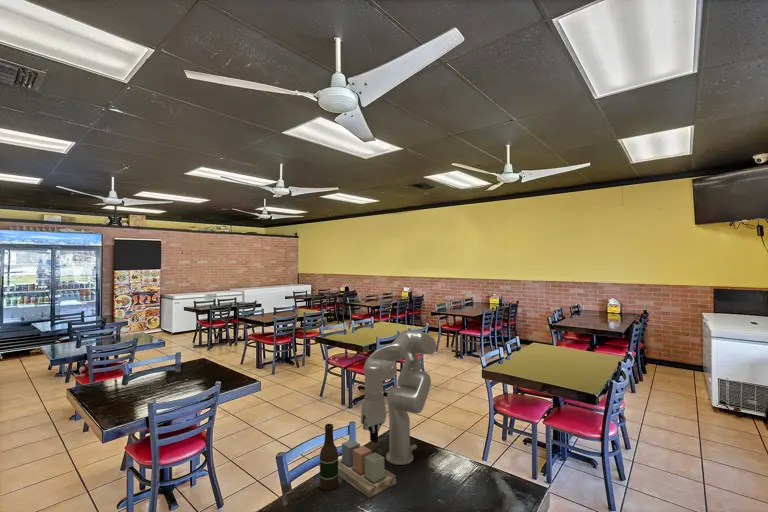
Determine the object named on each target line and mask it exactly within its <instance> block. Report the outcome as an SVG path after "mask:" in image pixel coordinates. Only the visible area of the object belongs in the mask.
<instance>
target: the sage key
mask: <svg viewBox="0 0 768 512" xmlns="http://www.w3.org/2000/svg"><path fill="white" fill-rule="evenodd" d="M384 469H385V457H384V456H382V455H381V454H379V453H377V452H372V454H371V455H369V456H366V457H365V473H364V474H365V478H367V479H368V480H370V482H371V483H373V484H375V483H377V482H379V481H380V480H381V479H383V478H384Z"/></svg>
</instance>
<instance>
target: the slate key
mask: <svg viewBox="0 0 768 512" xmlns="http://www.w3.org/2000/svg"><path fill="white" fill-rule="evenodd" d="M359 447H361V444H360V443H359V442H357V441H356V440H353V439H350V440H347V441H345V442H343V443H341V459H342V462H343V463H344V464H346V465H347V467H349V468H350V467H353V450H354V449H357V448H359Z"/></svg>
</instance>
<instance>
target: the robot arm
mask: <svg viewBox="0 0 768 512" xmlns="http://www.w3.org/2000/svg"><path fill="white" fill-rule="evenodd" d="M436 349H437V342H436V340H435V338H434V337H433V336H431V335H429V334H428V333H426V332H424V331H420V330H408V329H407V330H402V331H401V332H400V333H399V334H398V335H397V336H396V338H395V339H394V340H393V341H392V342H391V344H388V345H386V346H384V347H381V348H379V349H377V350H374V351H373V352H372V353H371V354H370V355H369V356H368V357H367V358H366V360H365V362H364V365H363V372H364V399H362V405H361V410H360V423H361V425H362V430H364V431H368V432H369V440H370V442H372V443H374V444H376V443H378V442H379V432H380V429H381V427H382V426H383V425H384V424H385V422H386V417H387V410H386V408H387V409H388V423H389V425H388V426H389V427H388V429H389V431H388V432H389V433H388V435H389V439H388V440H389V446H388V448H389V451H388V452H387V453H386V455H385V459H386V461H387V462H388V463H390V464H391V465H396V466H404V465H408V464H410V463H412V462H413V460H414V454H413V450H416V449H417V448H418V446H417V444H412V445H411V431H410V430H411V427H410V425H411V423H410V422H411V421H410V417H409V413H410V414H411V413H412V414H421V412H422V411H423V409H424V407H425V404H426V402H427V398H428V395H429V392H430V390H431V389H430V388H431V384H432V383H431V382H432V380H431V379H432V378H431V376H430V374H429V373H428V372H426V371H422V370H421V367H422V363H421V360H420V358H419V357H418V356H417V354H419V355H420V354H421V355H434V353H435V352H436ZM403 359H404V363H403V365H402V367H401V370H400V373H399V375H398V377H397V378H398V379H397V386H398V387H394V388H391V389H390V390H389V391H388V392H387V394H386V402H387V407H386V402H385V397H384V394H385V390H384V381H388V380H391V379H393V378H394V377H396V374H397V372H398V369H397V365H396V363H395V362H396V361H401V360H403Z"/></svg>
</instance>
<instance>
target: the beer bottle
mask: <svg viewBox="0 0 768 512" xmlns="http://www.w3.org/2000/svg"><path fill="white" fill-rule="evenodd" d="M338 460H339V452H338V448H337V445H336V444H335V443H334V423H333V424H332V423H326V424H325V425H324V443H323V446H322V447H321V449H320V451H319V486H320V488H319V489H321V490H322V491H326V492H329V491H334V490H335V489H337V488H338V486H339V476H338Z"/></svg>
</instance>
